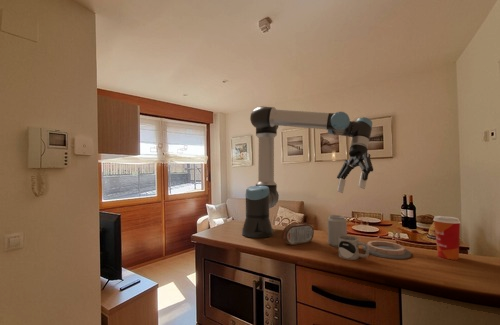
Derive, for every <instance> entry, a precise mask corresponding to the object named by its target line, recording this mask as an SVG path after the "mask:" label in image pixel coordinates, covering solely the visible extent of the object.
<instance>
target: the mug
mask: <svg viewBox="0 0 500 325" xmlns="http://www.w3.org/2000/svg"><path fill="white" fill-rule="evenodd" d="M359 246H365V248H366V252H365V253H360V252H359ZM337 250H338V257H339V258H340V259H343V260H346V261H347V260H348V261H357V260H358V259H359V258H368V257H369V255H370V254H369V246H368V244H367V242H363V241H359V238H358V237H356V236H352V235H347V236H346V235H343V236H339V237H338V247H337Z"/></svg>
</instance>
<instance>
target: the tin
mask: <svg viewBox="0 0 500 325" xmlns="http://www.w3.org/2000/svg"><path fill="white" fill-rule="evenodd" d="M314 233H315V230H314V227H313V226H312V225H311V224H309V223H307V222H299V223H289V224H288V225H286V226H285V227H284V228H283V230H282V239H283V242H285V243H286V244H288V245H290V246H296V245H302V244H308V243H309V242H311V241H312V240H313V238H314Z"/></svg>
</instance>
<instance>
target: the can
mask: <svg viewBox="0 0 500 325" xmlns="http://www.w3.org/2000/svg"><path fill="white" fill-rule="evenodd" d="M347 222H348V220H346V217H345V216H344V215H337V214H332V215H329V217H328V218H327V243H328V244H329V246H332V247H334V248H338V237H339V236H343V235H346V236H348V225H347Z"/></svg>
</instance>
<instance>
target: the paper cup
mask: <svg viewBox="0 0 500 325" xmlns="http://www.w3.org/2000/svg"><path fill="white" fill-rule="evenodd" d="M432 221H433V223H434V230H435V231H434V232H435V241H436V248H437V250H436V251H437V256H438V257H439V258H441V259H446V260H450V259H451V261H458V260H459V256H460V229H461V228H460V227H461V226H460V225H461V223H462V222H461V221H460V218H458V217H454V216H446V215H443V216H442V215H434V218H433V219H432Z"/></svg>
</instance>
